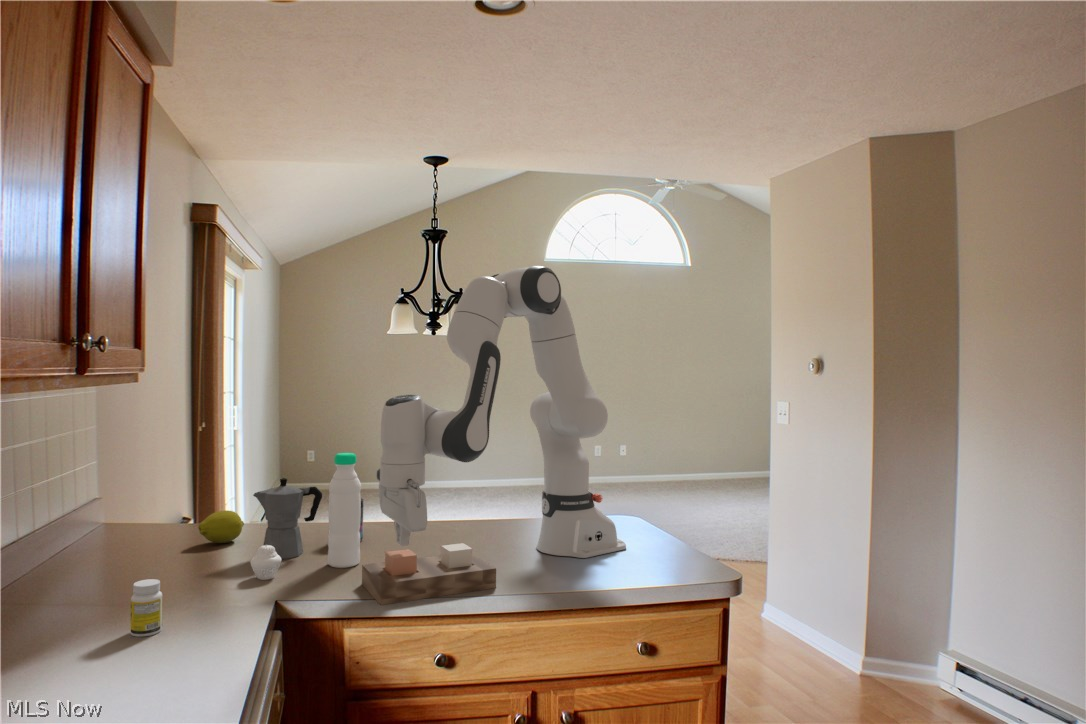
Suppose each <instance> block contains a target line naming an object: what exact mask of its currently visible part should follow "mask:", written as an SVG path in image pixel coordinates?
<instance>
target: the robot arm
mask: <svg viewBox="0 0 1086 724" xmlns="http://www.w3.org/2000/svg"><path fill="white" fill-rule="evenodd" d="M517 317H519V318H521V317H524V318H525V319H526V320H527V323H528V329H529V336H530V338H529V339H530V341H531V342H530V343H531V348H532V354H533V359H534V364H535V369H536V372H537V374H538V376H539V377H540V378H541V380H542V381H543V382H544V384H545V385H546V388H547V390H548V391H546V392H543V393H539V395H537V396H536V397H535V398H534V399H533V401H532V402H531V405H530V410H529V413H530V419H531V421H532V422H533V424H534V426H535V427H536V430H537V434H538V436H539V440H540V441H539V442H540V446H541V450H542V456H543V490H542V492H541V512H542V519H541V527H540V533H539V537H538V541H537V544H536V550H537V551H538V552H541V553H544V554H547V555H552V556H559V557H560V556H561V557H573V558H578V559H579V558H580V559H587V558H591V557H595V556H596V557H597V556H600V555H605V554H609V553H613V552H618V551H623V550H625V549H627V545H626V543H625V542H624V540H621V539H619V538H618V534H617V529H616V528H617V527H616V525H615V522H614V521H613V520H612V519H611V518H609V517H608V516H607V515H606V514H604V513H603V512H602V511H600V510H599V509H598V508H597V507H596V506H595V502H596V503H598V504H599V503H601V502H602V501H603V496H602V494H600V493H592V492H590V491H589V486H590V485H589V482H590V479H589V478H590V477H589V476H590V474H589V473H590V469H589V468H590V464H589V463H590V462H589V459H588V457H587V455H586V453H585V452H584V450H583V447H582V444H581V440H582V439H589V438H594V437H596V436H598V435H599V434H601V433H602V432H603V431H604V429H605V428H606V427H607V426H606V425H608V424H607V423H608V416H609V415H608V414H609V413H608V410H607V409H608V408H607V406H606V405H605V403H604V402H603V401H602V400H601V398H599V397H598V396H597V394H596V393H595V391H594V389H593V387H592V385H591V383H590V381H589V379H588V376H587V374H586V372H585V369H584V367H583V364H582V359H581V356H580V350H579V346H578V339H577V335H576V329H575V325H574V324H575V323H574V321H573V317H572V314H571V311H570V308H569V306H568V303H567V300H566V299H565V297H564V296H563V295H562V287H561V283H560V280H559V278H558V276H557V275H556V273H555V271H553V270H552V269H551V268H549V267H546V266H541V265H533V266H529V267H519V268H512V269H511V270H509V271H505V272H503V273H497V274H493V275H492V276H484V275H482V276H477V277H475V278H473V279H472V280H471V281H470V282H469V284H468V285H467V287H466V288H465V289H464V292H462V294H461V297H460V298H459V300H458V303H457V305H456V306H455V309H454V311H453V313H452V316H451V319H450V322H449V325H448V328H447V332H446V341H447V344H448V347H449V348H450V350H451V352H452V353H453V354H454V355H455V356H456V357H458V358H459V360H461V361H463V362H465V363H467V365H468V366H469V370H470V371H469V373H470V374H469V379H468V383H467V388H466V390H465V391H466V392H465V396H464V399H463V404H462V406H461V407H460V408H459V409H458V410H456V411H453V410H446V409H439V408H438V407H434V406H432V405H431V404H429V403H427V402H426V401H424V400H423V398H422V396H420V395H418V394H406V395H405V394H403V395H397V396H395V397H391V398H389V399H388V400H386V401H385V403H384V405H383V408H382V413H381V420H380V443H381V447H382V453H381V457H380V467H379V468H377V470H376V473H375V476H376V477H375V478H376V480H377V481H379V482H378V496H379V497H378V498H379V506H380V510H381V513H382V514H384V515H385V516H386V517H387V518H389V519H391V520H392V521H394V522H393V525H394V530H395V534H396V536H395V538H396V539H395V540H396V543H397V544H399V545H400V546H401V547H406V546H407V547H408V546H409V545H410V537H411V533H414V532H422V531H426V530H427V527H428V506H427V496H426V493H425V491H424V490H422V489H421V488H420V487H421V486H424V485H425V484H426V457H425V456H426V455H431V456H435V457H443V458H447V459H451V460H455V461H458V462H461V463H470V462H473V461H475V460H477V459H478V458H480V456H481V455H482V454H483V453H484V451H485V450H486V449H487V446H488V444H489V439H490V421H491V420H490V419H491V414H492V409H493V403H494V399H495V394H496V389H497V384H498V380H499V374H500V367H501V360H502V359H501V357H502V356H501V352H500V348H499V347H498V339H499V335H500V333H501V330H502V326H503V323H504V320H505V318H517ZM580 439H581V440H580Z"/></svg>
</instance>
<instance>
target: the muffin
mask: <svg viewBox="0 0 1086 724" xmlns="http://www.w3.org/2000/svg"><path fill="white" fill-rule="evenodd" d="M282 560H283V559H281V557H280V556H279V555H278V554H277V552H276V551H275V548H274V547H273V546H271V545H265V546H263V545H261V546H260V547H258V549H257V550H256V553H255V555H254V556H253V557H252V558H251V560H250V566H251V569H252V570H253V572H254V575H255V576H256V578H257V579H258V580H259V581H260V580H262V581H265V580H266V581H267V580H271V579H273V578H275V576H276V574H277V572H278V570H279V568H280V566H281V564H282Z"/></svg>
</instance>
